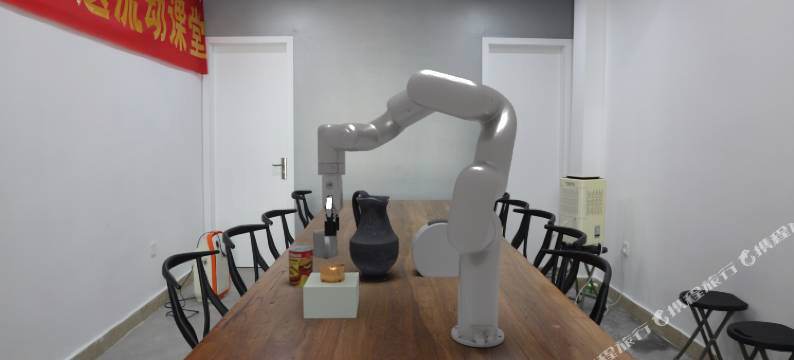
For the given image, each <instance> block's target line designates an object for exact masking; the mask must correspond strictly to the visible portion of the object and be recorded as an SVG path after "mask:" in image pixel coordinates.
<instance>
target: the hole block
mask: <svg viewBox="0 0 794 360" xmlns="http://www.w3.org/2000/svg"><path fill="white" fill-rule="evenodd" d="M359 286H360V272H355V271H354V272H353V271H352V272H345V280H344V281H342V282H338V283H324V282H322V281H321V280H320V272H313V273H311V274H310V276H309V278H308V280H307V281H306V283H305V285H304V287H302V290H303V291H302V295H303V298H302V299H303V301H302V303H303V319H357V315H358V309H359V303H360V287H359Z"/></svg>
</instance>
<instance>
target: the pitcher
mask: <svg viewBox="0 0 794 360" xmlns="http://www.w3.org/2000/svg"><path fill="white" fill-rule="evenodd" d="M351 197H352V198H351V207H352V214H353V218H354V222H355V227H356V230H355V232H354V234H353V235H352V236H351V237H350V239H349V244H348V247H349V249H348V250H349V257H350V259H351V261H352V262H353V264H354V267H356V269H358V270H359V271H360V272H361V273H362V274H361V275H360V279H361V280H362V279H363V281H365V282H371V281H375V282H383V281H385V280H388V279H389V277H390V276H389V274H388V271H390V270H391V268H393V266H394V265H395V264H396V262H397V260H398V258H399V253H400V239H399V236H398V235H397V234H396V233H395V231H394V230H393V227H392V224H391V222H390V221H391V220H390V217H389V215H388V210H387V207H388V204H389V203H390V200H389V199H390V198H391V197H390V195H373V194H371V195H370V194H369V193H368V191H366V190H361V189H360V190H356V191H354V192H353V194H352V196H351Z"/></svg>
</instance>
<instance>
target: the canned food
mask: <svg viewBox="0 0 794 360" xmlns="http://www.w3.org/2000/svg"><path fill="white" fill-rule="evenodd" d="M311 273H314V255H313V246H311V245H296V246H291V247H289V248H288V281H289V282H288V286H290V287H291V288H303V287H304V285H305V283H306V281H307V280H308V278H309V276H310V274H311Z"/></svg>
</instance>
